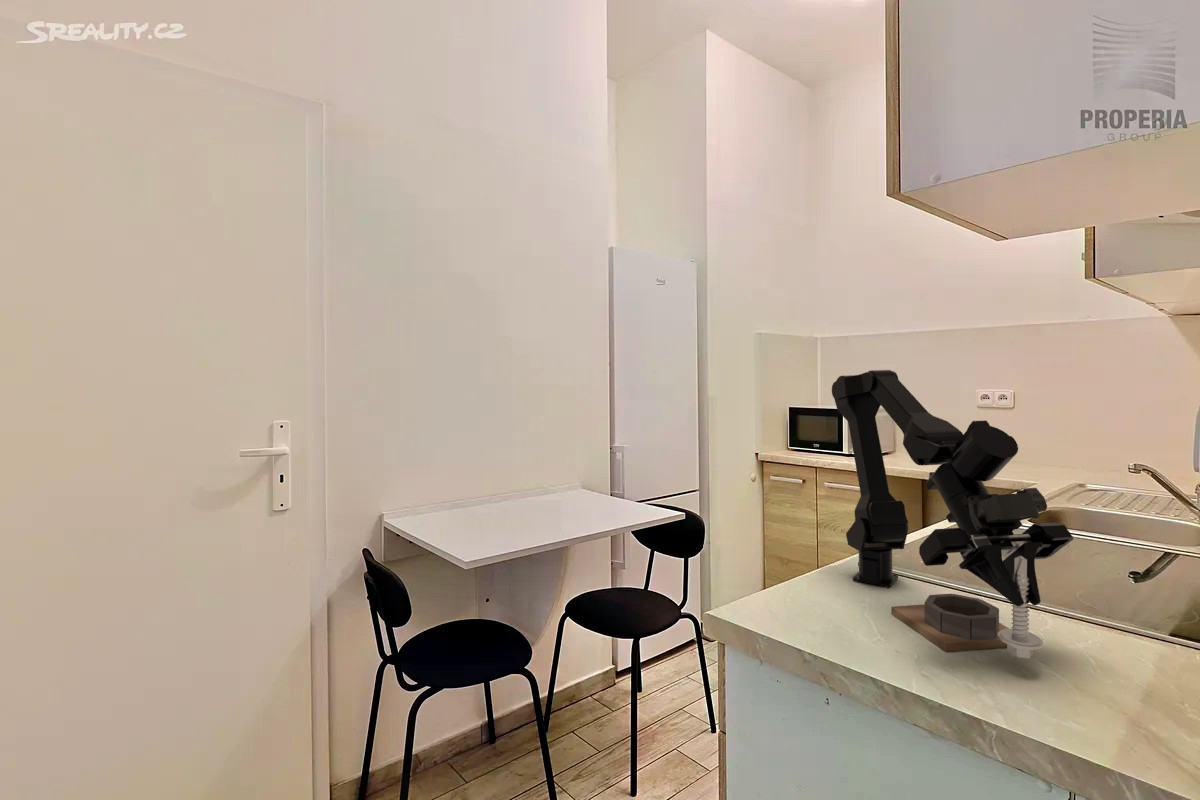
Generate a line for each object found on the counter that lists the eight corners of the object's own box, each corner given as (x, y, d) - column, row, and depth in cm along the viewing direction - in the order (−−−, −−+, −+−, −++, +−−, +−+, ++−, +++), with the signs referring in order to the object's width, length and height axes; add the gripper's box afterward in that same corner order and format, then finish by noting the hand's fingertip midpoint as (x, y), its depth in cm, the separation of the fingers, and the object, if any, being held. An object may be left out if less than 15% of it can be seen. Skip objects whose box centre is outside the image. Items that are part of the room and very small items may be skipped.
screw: (992, 643, 79) (1034, 647, 77) (1004, 660, 74) (1049, 665, 73) (993, 548, 78) (1035, 551, 77) (1005, 560, 74) (1050, 563, 72)
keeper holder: (891, 613, 94) (891, 588, 94) (961, 609, 95) (961, 583, 95) (945, 651, 81) (945, 622, 81) (1026, 645, 82) (1026, 616, 82)
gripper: (932, 470, 78) (994, 581, 67) (1062, 464, 79) (1142, 572, 69) (897, 513, 86) (948, 618, 76) (1015, 507, 87) (1081, 609, 77)
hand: (1029, 604), depth 74 cm, fingers closed on screw, 2 cm apart
